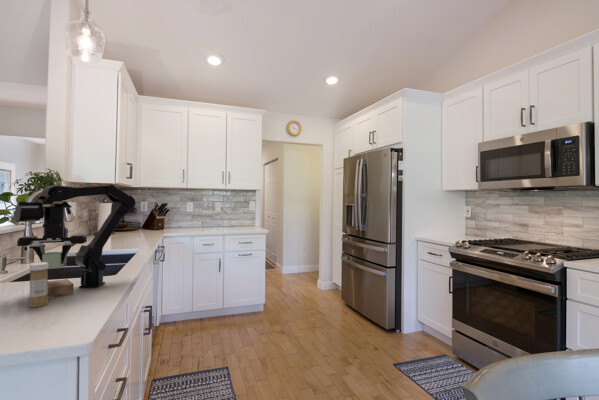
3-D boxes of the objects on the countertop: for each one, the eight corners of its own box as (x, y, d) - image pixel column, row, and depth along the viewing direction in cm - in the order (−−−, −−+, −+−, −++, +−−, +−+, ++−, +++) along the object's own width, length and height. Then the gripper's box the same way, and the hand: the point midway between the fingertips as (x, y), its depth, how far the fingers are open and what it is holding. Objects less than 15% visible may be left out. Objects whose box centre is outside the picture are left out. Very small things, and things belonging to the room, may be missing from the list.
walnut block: (66, 289, 117) (67, 278, 117) (73, 295, 110) (73, 283, 110) (32, 295, 109) (32, 283, 109) (36, 301, 103) (37, 289, 103)
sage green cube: (64, 265, 113) (64, 251, 113) (59, 268, 109) (60, 253, 109) (47, 266, 111) (47, 252, 111) (42, 269, 106) (42, 254, 107)
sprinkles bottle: (49, 302, 101) (50, 261, 101) (45, 306, 97) (46, 263, 97) (31, 304, 99) (32, 262, 99) (26, 308, 95) (27, 265, 95)
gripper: (90, 219, 121) (89, 258, 121) (29, 219, 113) (29, 262, 113) (83, 220, 111) (82, 264, 111) (16, 221, 103) (16, 268, 103)
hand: (53, 264), depth 110 cm, fingers closed on sage green cube, 5 cm apart
